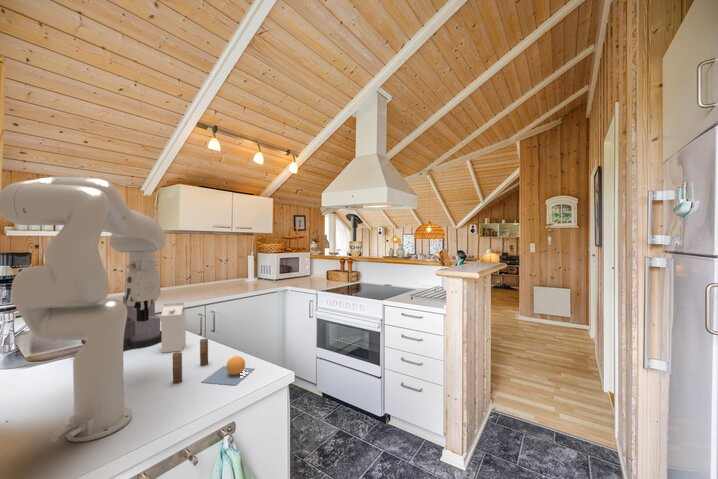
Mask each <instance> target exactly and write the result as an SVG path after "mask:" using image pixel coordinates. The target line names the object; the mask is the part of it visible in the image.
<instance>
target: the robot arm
mask: <svg viewBox="0 0 718 479" xmlns="http://www.w3.org/2000/svg"><path fill="white" fill-rule="evenodd" d="M0 216H2V218H4V219H5V220H6V221H8V222H10V223H11V224H16V225H20V226H63V227H62V228H61V229H60V230H59V231H58V233H57V234H55V236H54V237H53V238H51V240H50V241H49V242H48V244H47V245H46V247H45V249H44V251H43V252H44V253H43V256H44V261H45V262H46V265H45V264H44V265H43V264H42V265H40V264H39V265H34V266H29V267H26V268H24V269H22V270H21V271H19V272H18V273H17V274H16V275H15V276H14V278H13V280H12V283H11V290H10V292H11V293H10V294H11V298H12V302H13V304H14V306H15V308H16V310H17V311H18V314H19V315H20V317H21V318H22V320H23V321H24V323H25V325H26V327H27V328H28V329H29V331H30V334H32V336H33V337H34V338H35V339H36V340H38V341H40V342H44V343H57V342H66V341H67V342H68V341H81V340H86V343H85V345H84V344H83V345H82V347H81V348H80V349H79V350H78V352H76V354H75V356H74V358H73V363H72V376H73V377H72V378H73V380H72V381H73V382H72V383H73V415H72V416H71V417H69V419H68V423H67V424H66V425H65V426H64V427H63V428H60V429H58V430H57V431H55V432H53V433H52V434H51V435H50V437H49V438H50V441H51V442H53V443H56V442H58V441H60V440H61V439H64V438H66V439H67V440H68V441H69V442H77V443H81V442H89V441H94V440H97V439H100V438H103V437H106V436H108V435H110V434H113V433H115V432H116V431H118V430H121V429H122V428H123V427H125V426H126V425H127V424H128V423H129V422H130V421H131V419H132V416H133V411H132V410H131V409H130V408H128V407H125V380H124V379H125V378H124V376H125V375H124V374H125V371H124V352H123V341H124V331H125V325H126V320H127V307H126V305H125V304H124V303H123V300H119V299H116V298H111V297H110V298H109V297H108V296H109V293H110V288H111V287H110V282H109V278H108V275H107V272H106V268H105V267H104V263H103V260H102V258H101V255H100V251H99V241H100V237H101V236H102V233H103V231H104V232H106V233H111V235H110V237H109V244H110V247H111V248H112V249H113V250H114V251H116V252H119V253H128V264H127V265H126V268H127V269H128V271H127V274H126V277H125V285H124V296H125V300H126V301H127V306H133V307H134V308H135V310H137V321H142V322H144V321H148V320H149V309H148V308H150V307H151V304H152V302H154V301H155V302H157V301H158V298H160V297H161V291H162V290H161V279H160V275H159V271H158V269H156V267H157V265H156V264H157V263H156V262H157V261H156V260H157V258H156V256H157V255H156V254H157V252H160V251H162V250H163V249H164V248H165V247H166V235H165V233H164V231H163V228H162V226H160V224H159V222H158V221H156V220H155V219H153V218H152V217H151V216H148V215H145V214H143V213H141V212H139V211H136V210H134V209H131V208H130V207H129V206H128V205H127V203H126V201H125V200H124V198H123V197H122V196H121V194H120V193H119V192H118V191H117V188H115V186H114V185H113V184H112V183H110V182H109V181H108V180H105V179H101V178H96V177H80V176H79V177H78V176H77V177H75V176H47V177H41V178H40V177H39V178H35V179H30V180H29V179H28V180H23V181H19V182H18V181H16V182H13V183H10V184H8V185H6V186H4V187H3V188H2V189H1V190H0ZM107 297H108V298H107Z"/></svg>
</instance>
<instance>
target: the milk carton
mask: <svg viewBox="0 0 718 479" xmlns="http://www.w3.org/2000/svg"><path fill="white" fill-rule="evenodd" d="M186 327H187V326H186V308H185V305H184V302H172V303H163V308H162V312H161V315H160V331H161V336H162V342H161V353H162V354H163V353H172V352H173V353H176V352H182V351H183V350H184V348H185V346H186V345H187V341H186V340H187V337H186V331H187V330H186Z"/></svg>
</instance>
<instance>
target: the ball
mask: <svg viewBox="0 0 718 479" xmlns="http://www.w3.org/2000/svg"><path fill="white" fill-rule="evenodd" d="M225 366H226V369H227V372H228V373H229V374H231V375H238V374H240V373H241V372H242V371H243V370H244V368H246V360H245V359H244V358H243V357H242V356H239V355H235V356H232V357H231V358H229V359H228V360H227V362H226V364H225Z"/></svg>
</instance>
